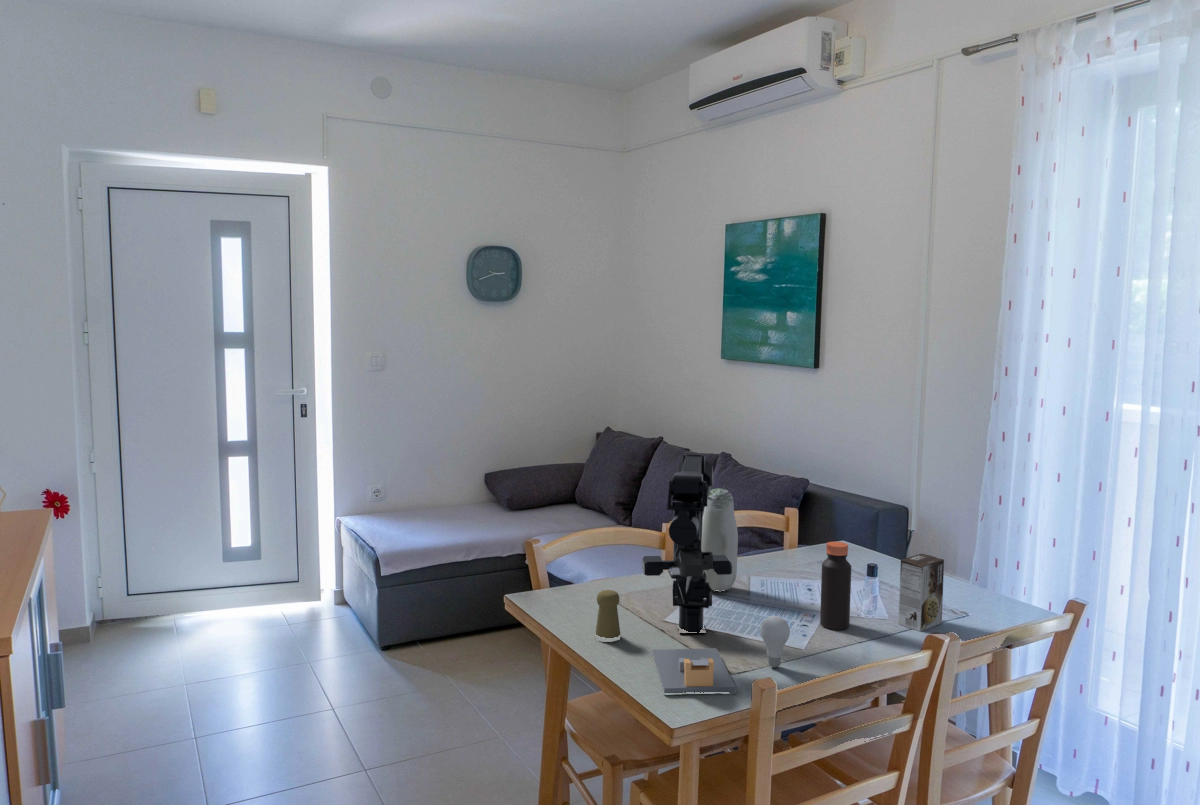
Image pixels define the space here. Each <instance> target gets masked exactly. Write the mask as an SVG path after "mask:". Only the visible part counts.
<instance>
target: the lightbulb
mask: <svg viewBox="0 0 1200 805" xmlns="http://www.w3.org/2000/svg"><path fill="white" fill-rule="evenodd" d="M759 632H760V636H761V638H762V641H763V642H764V644H765V648H766V655H767V664H768V665H769V666H771V668H777V667H779V666H781V661H782V660H781V659H782V656H783V650H784V647H785V645H786V643H787V642H788V640H789V638H790V635H791V630H790V625H789V624H788V622H787V620H785V619H784V618H783V617H780V616H777V615H771V616H768V617H767V618H765V619H764V620H763V621H762V622H761V625H760V630H759Z"/></svg>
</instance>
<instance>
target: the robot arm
mask: <svg viewBox="0 0 1200 805" xmlns="http://www.w3.org/2000/svg"><path fill="white" fill-rule="evenodd" d="M682 459H683V460H682V461H680V462H679V463H678V466H677V472H675V473H674V474H673V476H672V479H670V480H669V482H668V495H667V506H666V507H667V510H668V511H673V518H672V519H671V520H672V521H671V523H670V524H669V527H668V536H669V538H670V539H671V541H672V542H673V543H672V544H673V545H672V547H673V548H672V549H673V551H672V552H673V555H672V560H663V558H662V557H661V556H660V555H645V556H643V558H641V569H642V572H643V574H644V576H647V577H649V576H650V577H653V576H661V574H663V573H664V571H666V570H667V573H668V574H669V577H670V578H671V579H673V581H672V606H673V607H678V622H679V627H680V628H681V629H684V630H686V631H688V632H697V633H699V632H700V630H701V629H702V628H703V625H704V609H709V608H710V607H713V591H712V589H711V587H710V585H709V582H707V576H706V574H705V572H704V570H709V569H714V571H715V572H716V573H717V574H718V575H730V574H732V563H731V562H730V560H729V559H728V558H727V557H726V556H725V555H712V552H702V551H701V546H702V522H703V514H704V509H705V507H707V502H708V496H709V495H710V491H711V487H713V486H714V465H713V464H712V463H710V462H709V461H708V460H707V459H706V455H705V454H703V453H686V454H684V453H683V458H682ZM703 559H704V560H703Z"/></svg>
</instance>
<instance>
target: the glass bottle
mask: <svg viewBox="0 0 1200 805" xmlns="http://www.w3.org/2000/svg"><path fill="white" fill-rule="evenodd" d="M734 506H735V505H734V498H733V495H732V493H731V492H730V491H729V490H727V489H725V488H719V487H718V488H713V489H710V495H709V496H708V502H707V507H704V511H703V522H702V546H701V551H702V552H712V555H725V556H726V557H727V558H728V559H729V560H730V562H731V563H732V574H730V575H718V574H717V573H716V572H715V571H714V569H709V570H704V572H705V574H706V576H707V582H709V585H710V587H711V589H712V590H719V591H722V590H727V591H728V589H729V590H730V589H731V588H732V586H733V585H734V583H735V582H736V579H737V572H738V548H739V545H738V544H739V533H738V526H737V520H736V516H735V508H734ZM703 560H704V559H703Z"/></svg>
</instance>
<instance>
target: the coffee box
mask: <svg viewBox="0 0 1200 805" xmlns="http://www.w3.org/2000/svg"><path fill="white" fill-rule="evenodd" d="M944 569H945V559H942V558H939V557H936V556H934V555H929V554H927V553H919V554H918V553H917V554H915V555H912V556H909V557H906V558H902V559H900V571H899V572H900V573H899V575H900V576H899V600H898V601H899V602H898V625H900V626H903V627H906V628H908V629H912V630H915V631H917V632H923V631H926V630H928V629H931V628H934V627H935V626H938V625H940V624H942V623H943V604H944V603H943V600H944V599H943V597H944V576H945V575H944V574H945V573H944V572H945V570H944Z"/></svg>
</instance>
